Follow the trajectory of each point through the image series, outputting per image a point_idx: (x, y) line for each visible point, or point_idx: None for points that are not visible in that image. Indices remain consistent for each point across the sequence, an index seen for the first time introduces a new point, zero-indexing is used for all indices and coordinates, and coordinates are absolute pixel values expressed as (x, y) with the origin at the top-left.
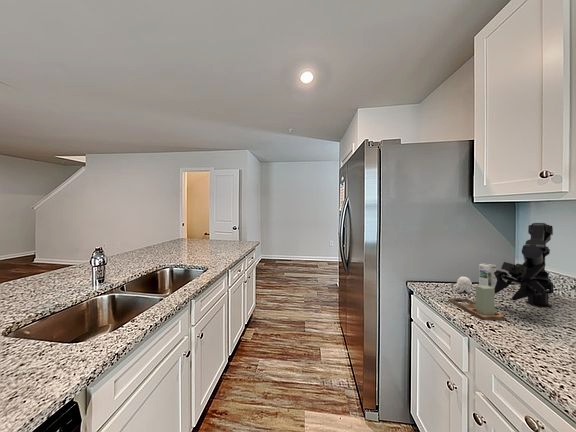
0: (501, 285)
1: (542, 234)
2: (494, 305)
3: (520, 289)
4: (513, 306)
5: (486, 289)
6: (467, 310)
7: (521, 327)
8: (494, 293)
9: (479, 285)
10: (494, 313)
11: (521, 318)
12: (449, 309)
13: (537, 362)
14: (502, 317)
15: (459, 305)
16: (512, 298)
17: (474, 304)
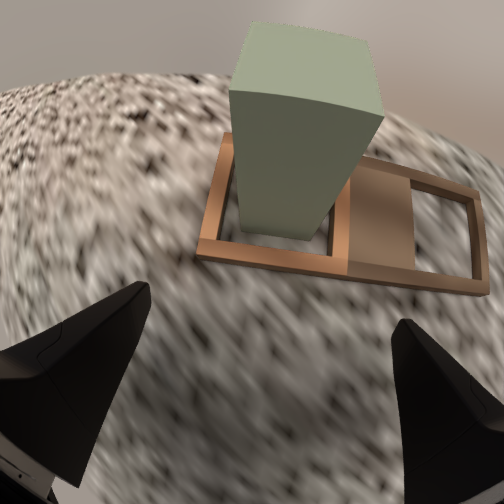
0: (433, 432)
1: None
2: (238, 196)
3: (35, 355)
4: (363, 491)
5: (247, 42)
6: None
7: (106, 251)
8: (232, 132)
9: (371, 61)
10: (241, 221)
11: (195, 379)
12: None
13: (17, 112)
14: (200, 241)
15: (404, 168)
16: (137, 282)
17: (412, 252)
